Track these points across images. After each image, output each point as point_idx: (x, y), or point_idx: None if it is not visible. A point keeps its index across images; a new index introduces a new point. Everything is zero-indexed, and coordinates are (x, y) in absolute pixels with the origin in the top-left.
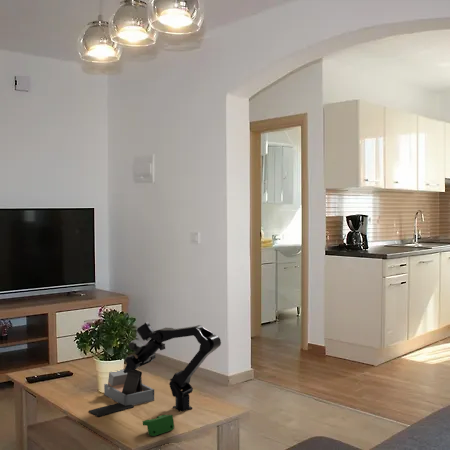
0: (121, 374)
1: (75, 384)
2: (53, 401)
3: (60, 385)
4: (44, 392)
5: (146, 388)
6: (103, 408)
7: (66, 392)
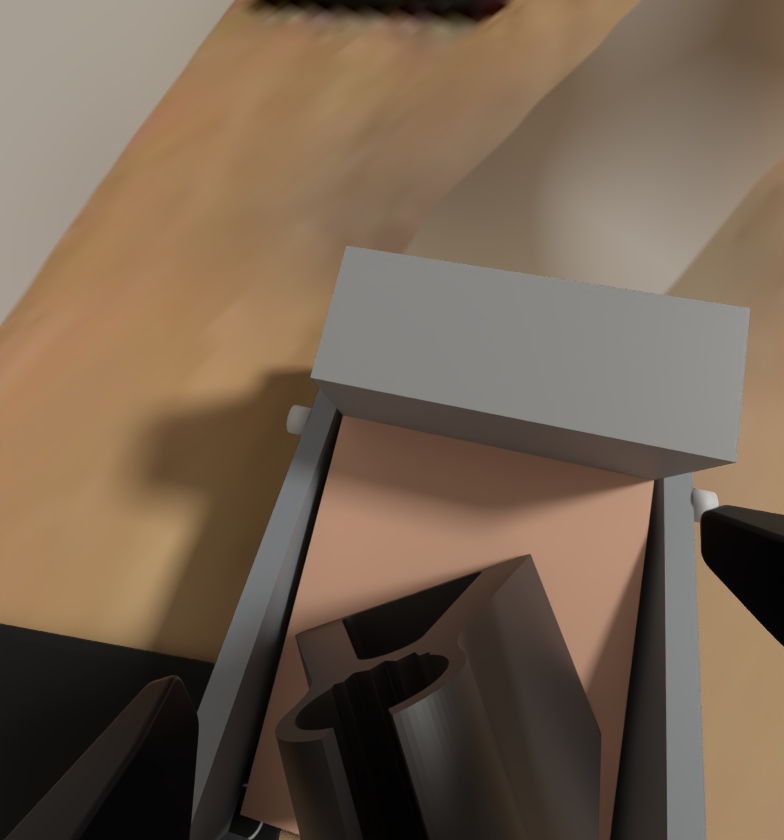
0: (457, 386)
1: (383, 118)
2: (57, 244)
3: (315, 89)
4: (173, 116)
5: (656, 821)
6: (15, 690)
7: (239, 179)
